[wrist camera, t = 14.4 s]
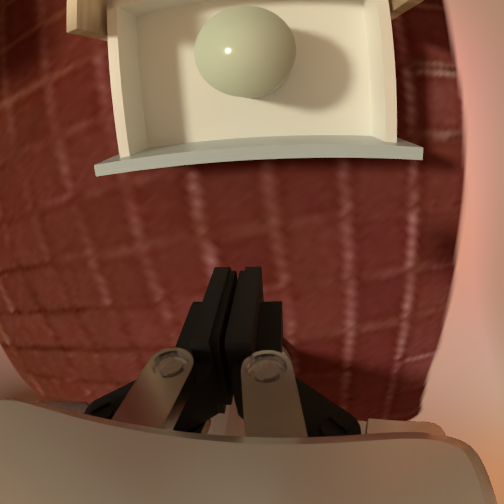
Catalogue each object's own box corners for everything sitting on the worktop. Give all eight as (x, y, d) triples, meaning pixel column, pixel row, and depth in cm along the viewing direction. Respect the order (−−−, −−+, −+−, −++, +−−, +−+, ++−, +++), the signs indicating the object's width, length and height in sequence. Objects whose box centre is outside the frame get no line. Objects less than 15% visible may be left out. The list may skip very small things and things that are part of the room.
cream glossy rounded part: (295, 96, 21) (299, 94, 17) (212, 101, 22) (198, 101, 18) (289, 19, 18) (292, 3, 14) (206, 26, 19) (191, 12, 15)
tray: (392, 145, 23) (422, 160, 17) (131, 158, 25) (95, 176, 19) (382, -6, 17) (409, -31, 12) (118, 16, 19) (80, 1, 14)
